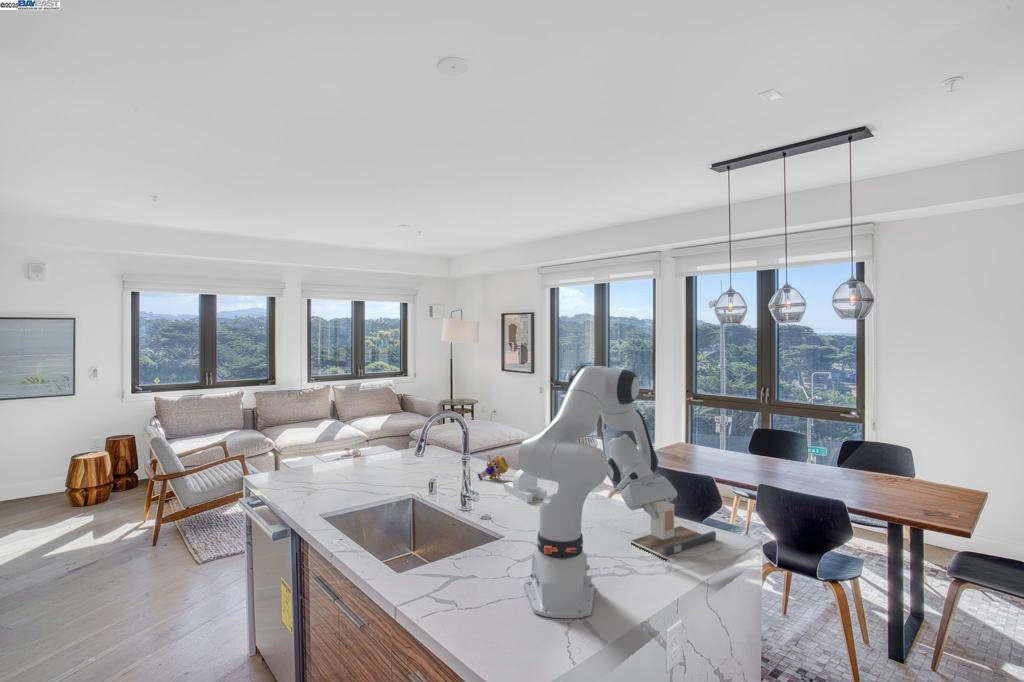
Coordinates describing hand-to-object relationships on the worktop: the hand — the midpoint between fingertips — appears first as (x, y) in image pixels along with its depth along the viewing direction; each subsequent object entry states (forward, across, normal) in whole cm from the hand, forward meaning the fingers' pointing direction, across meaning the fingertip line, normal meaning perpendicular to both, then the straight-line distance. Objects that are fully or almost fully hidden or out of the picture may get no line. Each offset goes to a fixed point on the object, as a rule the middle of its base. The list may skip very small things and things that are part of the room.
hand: (663, 516), depth 159 cm
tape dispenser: (-40, +6, -56) cm, 69 cm away
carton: (+4, 0, -5) cm, 6 cm away
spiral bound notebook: (+7, -7, -9) cm, 13 cm away
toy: (-60, +5, -75) cm, 96 cm away
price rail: (+10, -7, -3) cm, 13 cm away
